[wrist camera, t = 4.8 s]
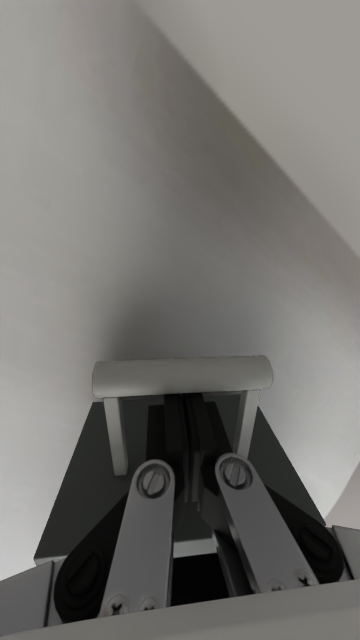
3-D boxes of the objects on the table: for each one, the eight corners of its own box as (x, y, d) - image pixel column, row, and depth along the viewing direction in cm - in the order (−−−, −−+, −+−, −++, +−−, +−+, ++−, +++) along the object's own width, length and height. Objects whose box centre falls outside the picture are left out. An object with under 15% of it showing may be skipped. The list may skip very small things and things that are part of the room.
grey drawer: (78, 318, 13) (-28, 434, 5) (265, 315, 14) (384, 407, 6) (112, 515, 20) (86, 674, 13) (231, 503, 21) (269, 643, 14)
